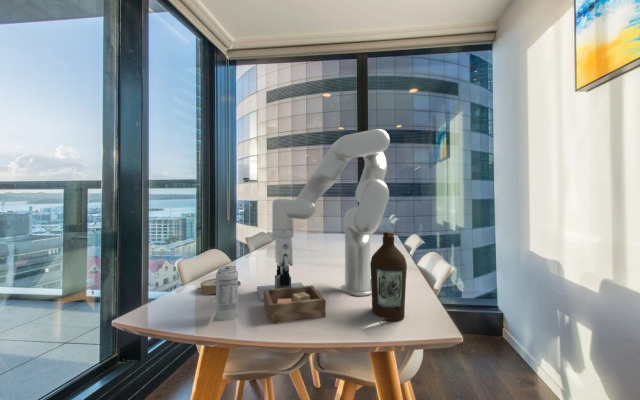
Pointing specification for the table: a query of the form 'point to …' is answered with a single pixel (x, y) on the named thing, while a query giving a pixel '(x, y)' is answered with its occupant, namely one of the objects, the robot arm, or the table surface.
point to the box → (293, 305)
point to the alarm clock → (210, 286)
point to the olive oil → (388, 280)
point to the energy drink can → (226, 293)
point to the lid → (275, 287)
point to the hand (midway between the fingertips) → (282, 282)
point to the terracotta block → (284, 300)
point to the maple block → (301, 296)
